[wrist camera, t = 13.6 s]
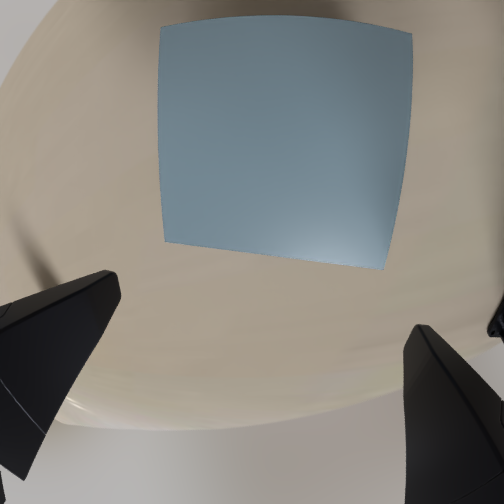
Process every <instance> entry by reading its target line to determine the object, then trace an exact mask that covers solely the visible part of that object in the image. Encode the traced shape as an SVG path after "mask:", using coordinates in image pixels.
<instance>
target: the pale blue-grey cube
mask: <svg viewBox="0 0 504 504" xmlns="http://www.w3.org/2000/svg"><path fill="white" fill-rule="evenodd" d="M412 79H413V45H412V34H411V33H407V32H403V31H400V30H395V29H391V28H387V27H382V26H377V25H372V24H367V23H361V22H355V21H348V20H341V19H332V18H322V17H310V16H289V15H259V16H238V17H225V18H215V19H207V20H199V21H192V22H186V23H180V24H175V25H169V26H164V27H161V31H160V45H159V66H158V153H159V175H160V191H161V205H162V217H163V228H164V238H165V242H169V243H177V244H185V245H192V246H200V247H208V248H216V249H223V250H231V251H239V252H247V253H255V254H262V255H270V256H278V257H286V258H293V259H301V260H309V261H317V262H325V263H333V264H340V265H348V266H356V267H364V268H372V269H380V270H384V266H385V262H386V258H387V255H388V251H389V246H390V242H391V238H392V234H393V229H394V225H395V220H396V215H397V210H398V205H399V200H400V194H401V189H402V183H403V176H404V170H405V163H406V155H407V147H408V138H409V128H410V117H411V102H412Z"/></svg>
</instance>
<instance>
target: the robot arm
mask: <svg viewBox="0 0 504 504" xmlns="http://www.w3.org/2000/svg"><path fill="white" fill-rule="evenodd" d="M120 299H121V291H120V286H119V281H118V277H117V274H116V273H115V272H113V271H109V270H102V271H99V272H96V273H93V274H90V275H87V276H84V277H82V278H79V279H76V280H73V281H70V282H67V283H64V284H61V285H58V286H56V287H53V288H50V289H47V290H44V291H41V292H39V293H36V294H33V295H30V296H27V297H25V298H22V299H19V300H17V301H14V302H13V303H12V302H11V303H8V304H6V305H3V306H0V465H2V466H3V467H4V468H6V469H7V470H9V471H10V472H11V473H13V474H14V475H16V476H17V477H19V478H20V479H21V480H23V481H24V480H25V479H26V477H27V475H28V472H29V470H30V468H31V466H32V463H33V461H34V459H35V457H36V455H37V452H38V450H39V448H40V446H41V444H42V442H43V440H44V438H45V436H46V435H45V434H47V432H48V430H49V428H50V425H51V424H52V422H53V420H54V418H55V416H56V414H57V412H58V410H59V409H60V407H61V405H62V403H63V401H64V399H65V398H66V396H67V394H68V392H69V390H70V389H71V387H72V385H73V383H74V382H75V380H76V378H77V376H78V375H79V373H80V371H81V370H82V368H83V366H84V365H85V363H86V361H87V360H88V358H89V356H90V355H91V353H92V351H93V350H94V348H95V347H96V345H97V343H98V342H99V340H100V338H101V337H102V335H103V333H104V331H105V329H106V327H107V325H108V323H109V321H110V319H111V317H112V315H113V313H114V311H115V309H116V308H117V306H118V304H119V302H120ZM487 333H488V335H489V337H501V339H502V341H503V343H504V300H503V302H502V304H501V306H500V308H499V310H498V312H497V314H496V316H495V318H494V320H493V321H492V323H491V325H490V327H489V329H488V331H487ZM403 363H404V386H403V397H404V412H405V413H404V414H405V429H406V430H405V432H406V488H405V504H504V401H503V400H502V401H501V398H500V397H499V396H498V395H497V393H496V392H495V391H494V390H493V389H492V388H491V387H490V386H489V385H488V384H487V383H486V382H485V381H484V380H483V379H482V378H481V376H480V375H479V374H478V373H477V372H476V371H475V370H474V369H473V368H472V367H471V366H470V365H469V364H468V363H467V362H466V361H465V360H464V359H463V358H462V357H461V356H460V355H459V354H458V353H457V352H456V351H455V350H454V349H453V348H452V347H451V346H450V345H449V344H448V343H447V342H446V341H445V340H444V339H443V338H442V337H441V336H440V335H438V334H437V333H436V332H435V331H434V330H433V329H432V328H431V327H430V326H429V325H422V324H417V325H415V326H414V328H413V330H412V332H411V334H410V336H409V338H408V340H407V342H406V344H405V346H404V351H403ZM5 500H6V499H5V494H4V489H3V484H2V478H1V471H0V504H4V502H5Z"/></svg>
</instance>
